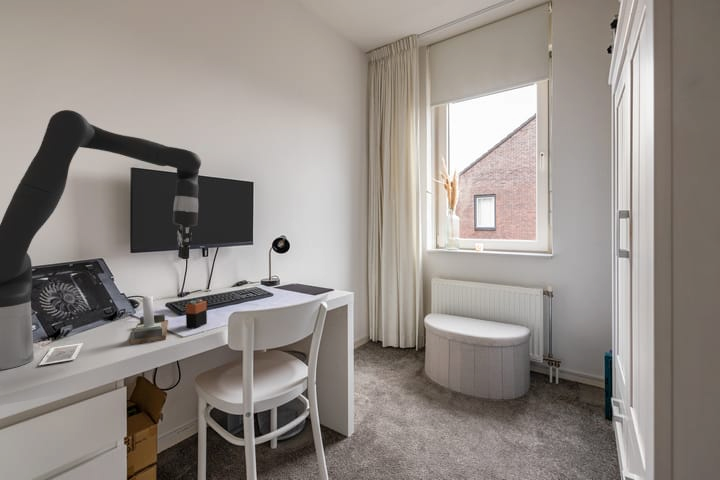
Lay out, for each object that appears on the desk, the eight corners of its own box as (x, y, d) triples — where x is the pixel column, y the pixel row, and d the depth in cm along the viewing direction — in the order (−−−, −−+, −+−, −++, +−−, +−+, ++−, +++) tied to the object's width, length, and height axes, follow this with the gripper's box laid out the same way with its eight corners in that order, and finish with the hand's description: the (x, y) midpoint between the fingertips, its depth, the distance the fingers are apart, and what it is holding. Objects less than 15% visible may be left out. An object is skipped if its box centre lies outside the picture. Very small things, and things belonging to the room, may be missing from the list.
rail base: (130, 344, 111) (130, 332, 110) (137, 327, 128) (137, 316, 128) (165, 339, 115) (165, 328, 115) (168, 323, 133) (167, 313, 133)
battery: (185, 328, 128) (184, 302, 127) (197, 322, 134) (197, 297, 134) (195, 328, 127) (195, 302, 126) (207, 323, 133) (206, 298, 133)
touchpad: (83, 346, 110) (83, 339, 110) (75, 362, 98) (74, 355, 98) (51, 351, 106) (51, 344, 106) (38, 369, 94) (38, 361, 94)
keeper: (136, 334, 113) (135, 299, 112) (137, 331, 117) (136, 297, 116) (160, 331, 116) (159, 297, 116) (161, 328, 120) (160, 294, 119)
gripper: (171, 211, 119) (168, 257, 119) (175, 208, 108) (172, 259, 107) (195, 213, 124) (192, 257, 123) (201, 210, 112) (198, 259, 111)
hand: (183, 258), depth 115 cm, fingers open, 8 cm apart
